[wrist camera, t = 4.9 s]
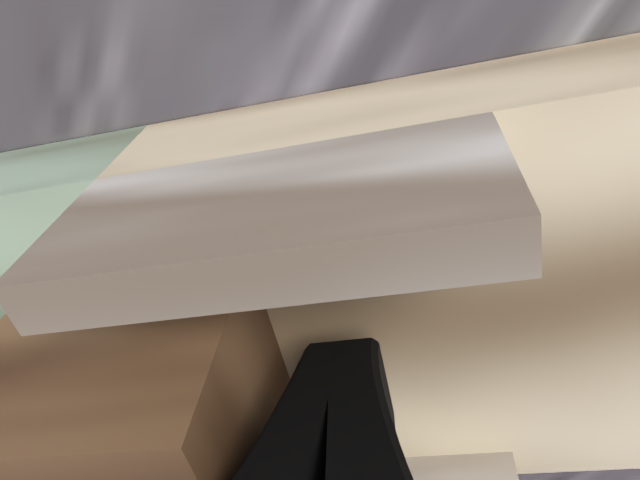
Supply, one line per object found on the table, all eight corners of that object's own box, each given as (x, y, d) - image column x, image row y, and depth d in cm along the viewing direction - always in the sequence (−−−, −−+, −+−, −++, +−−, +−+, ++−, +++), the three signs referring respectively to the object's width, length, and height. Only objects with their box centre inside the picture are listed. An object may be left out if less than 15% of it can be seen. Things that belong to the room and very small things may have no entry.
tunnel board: (822, 364, 13) (1060, 624, 9) (-55, 430, 18) (-205, 619, 13) (958, -28, 9) (1604, 72, 4) (-252, 200, 14) (-578, 363, 9)
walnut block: (305, 423, 12) (276, 628, 9) (120, 436, 13) (31, 627, 10) (248, 257, 10) (181, 448, 7) (29, 286, 11) (-129, 467, 7)
